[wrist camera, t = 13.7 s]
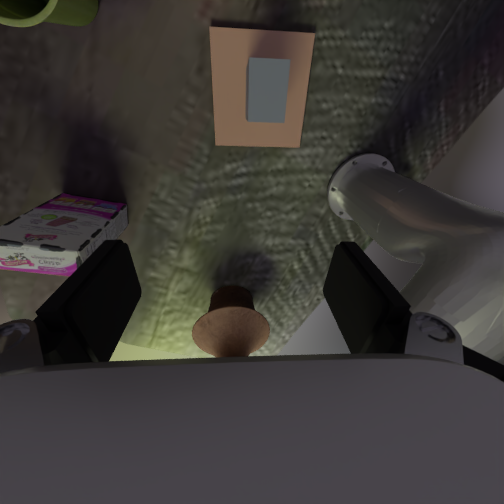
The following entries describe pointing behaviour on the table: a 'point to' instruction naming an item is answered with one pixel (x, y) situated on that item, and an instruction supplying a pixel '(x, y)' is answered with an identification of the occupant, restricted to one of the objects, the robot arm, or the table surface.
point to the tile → (234, 84)
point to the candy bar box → (60, 234)
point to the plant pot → (47, 12)
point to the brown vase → (231, 325)
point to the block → (266, 89)
